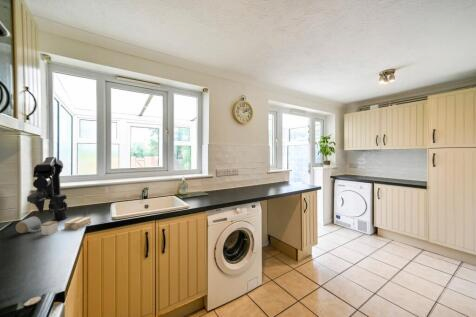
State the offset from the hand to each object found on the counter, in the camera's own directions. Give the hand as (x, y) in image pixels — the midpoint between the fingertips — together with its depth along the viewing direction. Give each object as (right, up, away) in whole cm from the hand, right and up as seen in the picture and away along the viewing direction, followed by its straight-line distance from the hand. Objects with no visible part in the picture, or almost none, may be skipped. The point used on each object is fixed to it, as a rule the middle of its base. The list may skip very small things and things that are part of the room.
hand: (48, 212), depth 113 cm
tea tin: (0, -12, +1) cm, 12 cm away
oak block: (+9, -11, +10) cm, 18 cm away
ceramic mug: (-14, -12, +4) cm, 19 cm away
